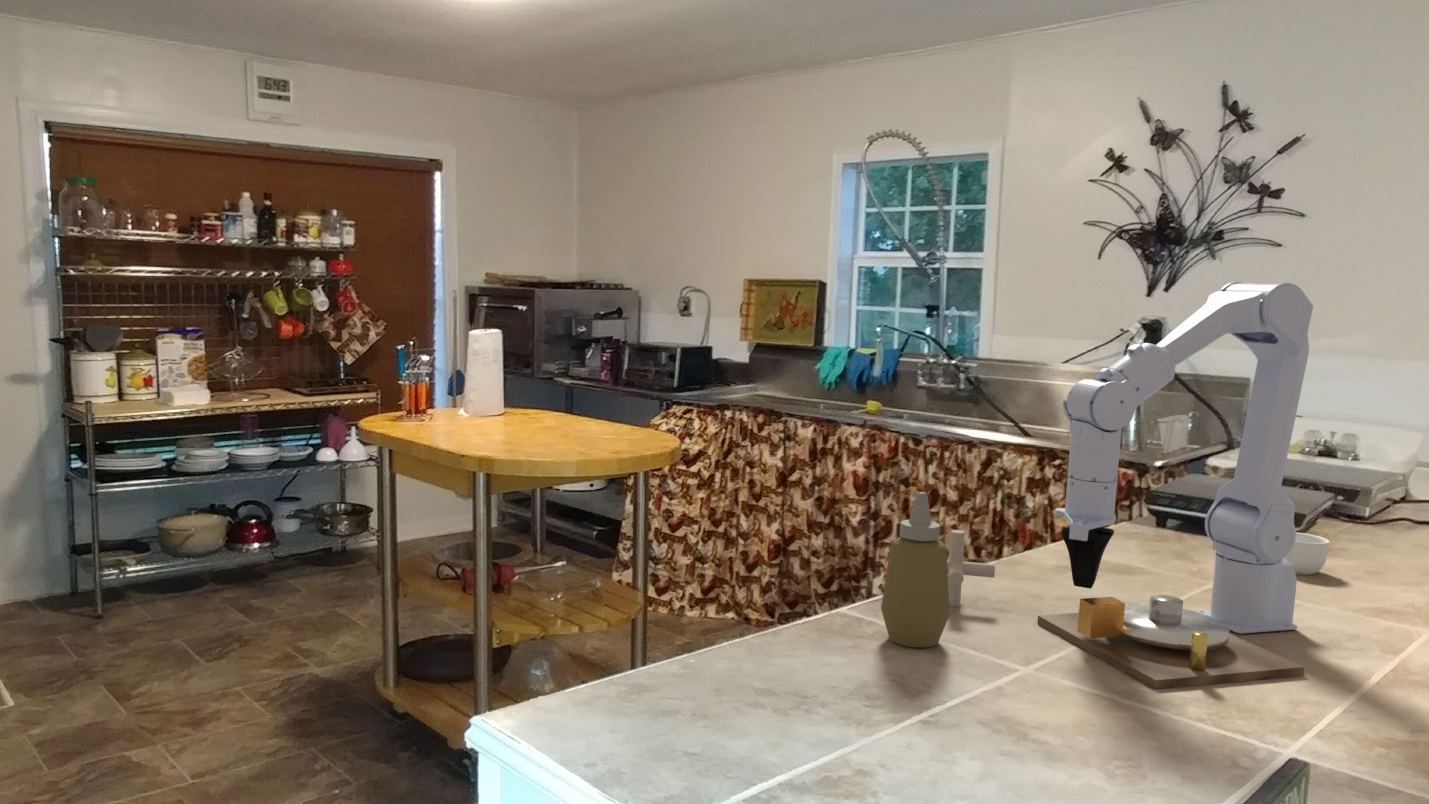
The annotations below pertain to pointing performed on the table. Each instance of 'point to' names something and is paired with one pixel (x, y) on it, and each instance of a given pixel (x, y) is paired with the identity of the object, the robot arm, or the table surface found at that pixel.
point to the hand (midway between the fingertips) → (1083, 586)
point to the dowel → (1198, 651)
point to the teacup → (1308, 553)
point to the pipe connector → (962, 567)
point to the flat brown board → (1176, 658)
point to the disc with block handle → (1149, 622)
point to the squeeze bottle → (917, 581)
